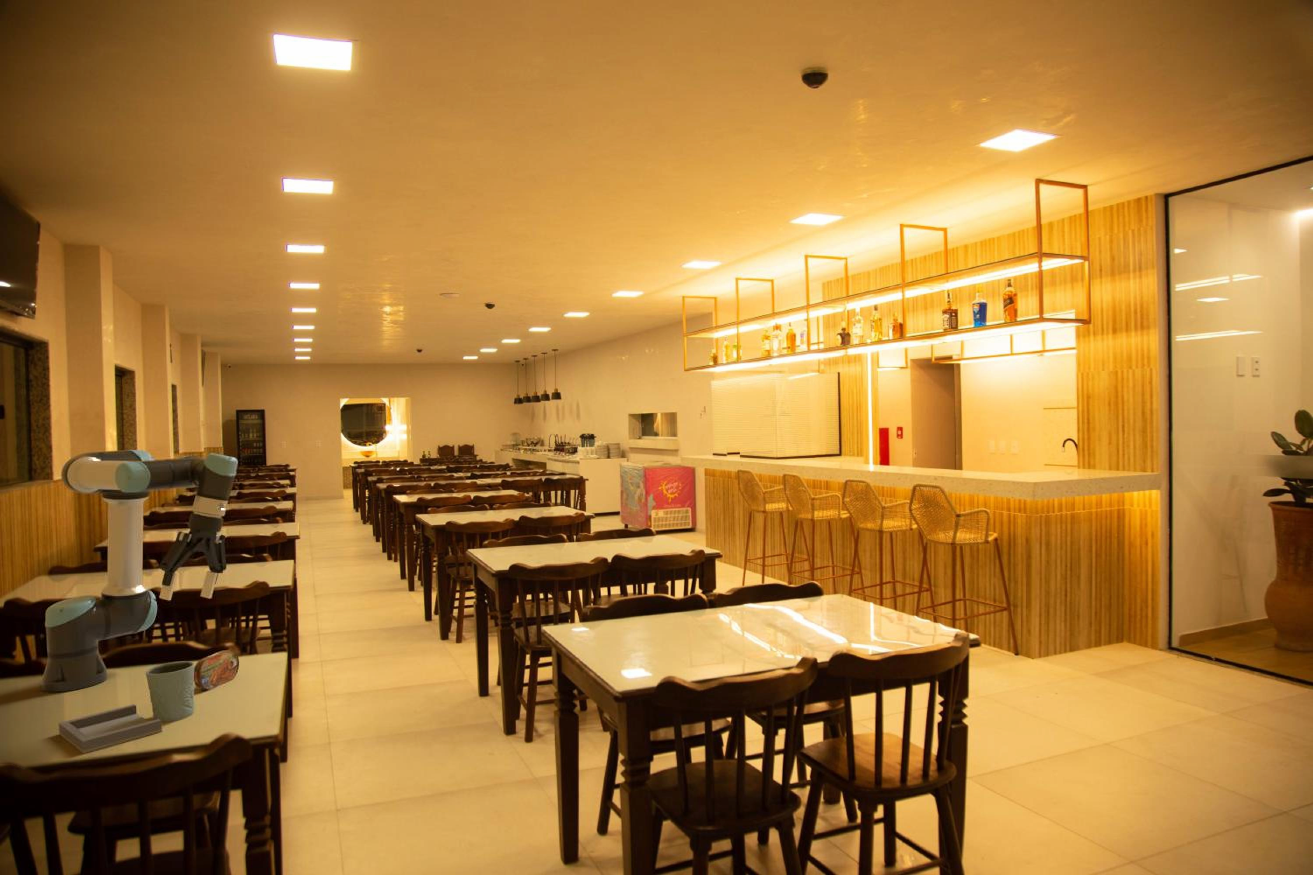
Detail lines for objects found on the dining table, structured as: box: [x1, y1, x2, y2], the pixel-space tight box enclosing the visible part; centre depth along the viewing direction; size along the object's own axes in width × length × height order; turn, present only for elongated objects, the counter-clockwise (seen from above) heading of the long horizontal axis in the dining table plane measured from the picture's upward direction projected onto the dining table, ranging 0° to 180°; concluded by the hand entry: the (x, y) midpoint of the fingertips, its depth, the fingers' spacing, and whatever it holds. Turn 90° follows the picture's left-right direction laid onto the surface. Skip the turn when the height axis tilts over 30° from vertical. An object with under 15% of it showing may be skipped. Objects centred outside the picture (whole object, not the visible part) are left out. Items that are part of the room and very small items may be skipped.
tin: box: [193, 649, 240, 690], centre depth 231 cm, size 15×3×8 cm, turn 168°
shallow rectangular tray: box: [58, 703, 163, 754], centre depth 197 cm, size 19×16×3 cm
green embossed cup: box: [145, 660, 195, 723], centre depth 206 cm, size 10×10×12 cm
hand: (185, 598), depth 213 cm, fingers open, 13 cm apart
